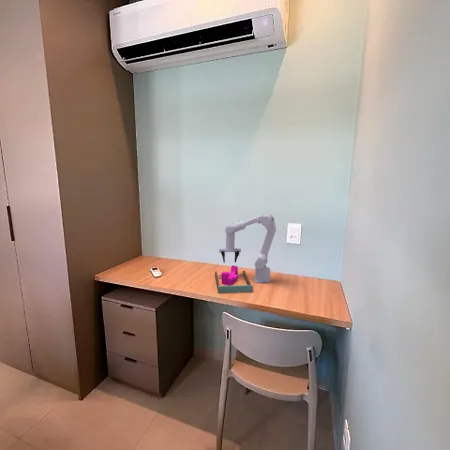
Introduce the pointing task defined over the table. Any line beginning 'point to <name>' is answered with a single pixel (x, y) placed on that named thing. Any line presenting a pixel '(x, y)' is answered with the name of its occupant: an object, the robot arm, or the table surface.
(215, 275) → the lane rails
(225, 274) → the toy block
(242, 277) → the trap squares
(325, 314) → the table surface
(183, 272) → the table surface
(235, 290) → the end stop
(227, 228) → the robot arm
